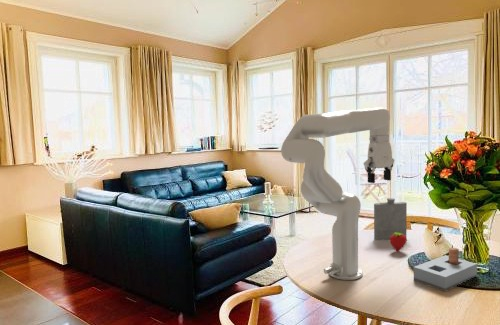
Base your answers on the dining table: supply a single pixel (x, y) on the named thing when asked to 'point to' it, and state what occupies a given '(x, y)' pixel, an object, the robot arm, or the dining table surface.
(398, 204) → the hip flask
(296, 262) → the dining table surface
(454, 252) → the pin
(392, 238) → the strawberry
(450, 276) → the hole block
